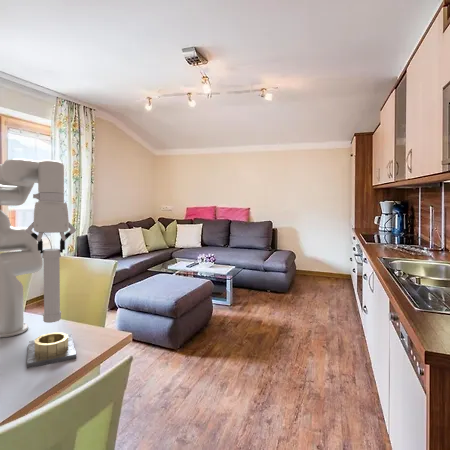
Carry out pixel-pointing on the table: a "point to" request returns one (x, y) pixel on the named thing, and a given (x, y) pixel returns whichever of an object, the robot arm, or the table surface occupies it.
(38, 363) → the fitting base
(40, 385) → the table surface
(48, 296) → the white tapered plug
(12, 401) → the table surface
